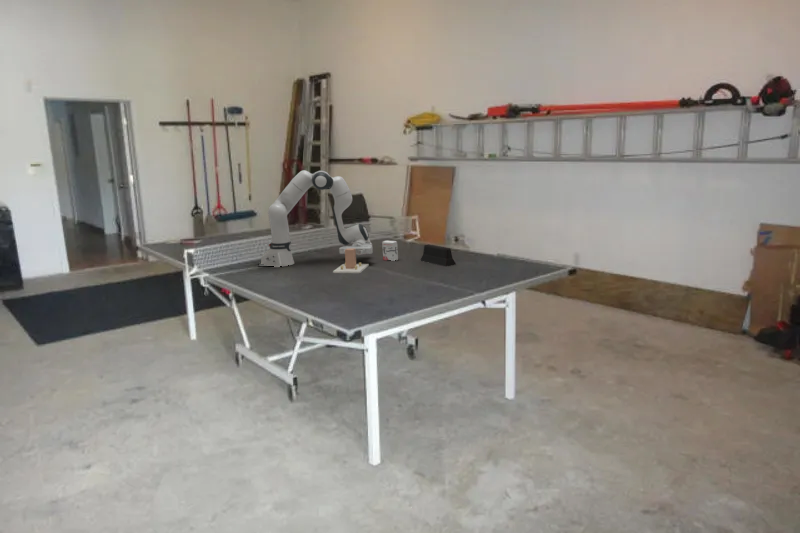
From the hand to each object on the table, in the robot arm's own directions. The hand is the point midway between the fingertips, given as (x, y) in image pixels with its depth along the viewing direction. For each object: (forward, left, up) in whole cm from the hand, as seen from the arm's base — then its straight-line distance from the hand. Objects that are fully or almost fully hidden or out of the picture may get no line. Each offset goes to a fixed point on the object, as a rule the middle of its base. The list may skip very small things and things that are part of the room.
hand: (352, 252), depth 337 cm
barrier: (+49, +15, -10) cm, 52 cm away
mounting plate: (0, -4, -9) cm, 10 cm away
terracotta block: (0, -4, -8) cm, 9 cm away
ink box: (+18, +22, -9) cm, 30 cm away
